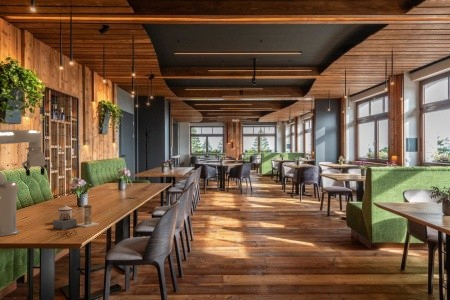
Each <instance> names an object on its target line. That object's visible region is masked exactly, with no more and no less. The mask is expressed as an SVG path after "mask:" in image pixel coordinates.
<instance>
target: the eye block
mask: <svg viewBox="0 0 450 300" xmlns="http://www.w3.org/2000/svg"><path fill="white" fill-rule="evenodd" d="M77 224H78V223H77V219H76V218H62V219H59V218H58V219H54V220H52V228H53V229H55V230H61V231H64V230H65V231H66V230H67V229H72V228H73V229H74V228H77V227H78V226H77Z"/></svg>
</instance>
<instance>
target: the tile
mask: <svg viewBox="0 0 450 300" xmlns="http://www.w3.org/2000/svg"><path fill="white" fill-rule="evenodd" d="M99 225H100V223H98V222H93V221H92V224H88V225H87V224H84V222H82V223H77V227H81V228H90V227H94V226H99Z"/></svg>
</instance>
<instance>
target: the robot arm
mask: <svg viewBox="0 0 450 300" xmlns="http://www.w3.org/2000/svg"><path fill="white" fill-rule="evenodd" d="M23 143H28V147H27V148H26V150H27V153H26V160H25V161H23V162H21V166H22V167H23V168H24V170H25V176H26V177H27V176H28V177H29V176H31V170H30V169H31V167H32V168H34V167H35V168H36V167H40V175H41V176H42V175H45V169H46V168H47V166H48V164H49V162H48V161H46V160H45V155H44V152H43V151H42V131H40V130H36V129H25V130H23V129H21V130H20V129H0V145H10V144H23ZM18 192H19V186H18V184H17V183H16V182H14V181H11V180H10V181H9V180H6V178H5V175H4V174H3V173H2V172H1V171H0V237H5V236H12V235H17V234H19V233H20V232H21V231H20V229H17V228H18V227H17V197H18Z"/></svg>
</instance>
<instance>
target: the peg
mask: <svg viewBox="0 0 450 300" xmlns="http://www.w3.org/2000/svg"><path fill="white" fill-rule="evenodd" d="M92 207H93V205H92V204H87V205H86V204H85V205H83V211H84V214H83V217H84V218H83V220H84V221H83V223H84V224H87V225H88V224H92V222H93V221H92V220H93V219H92Z"/></svg>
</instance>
